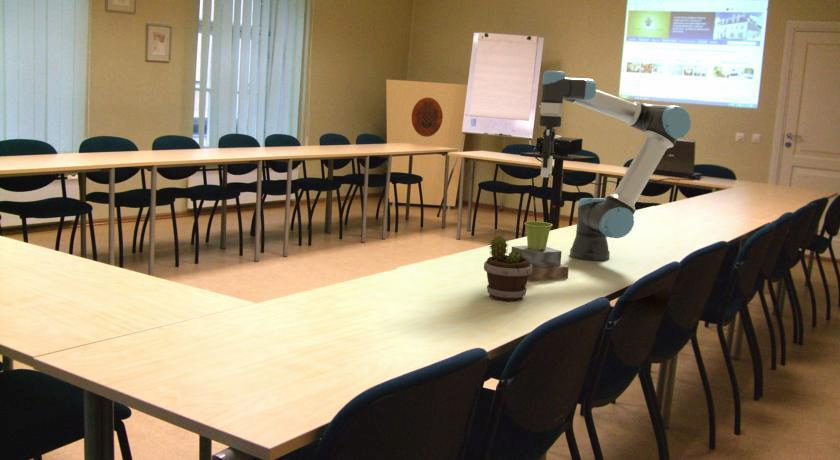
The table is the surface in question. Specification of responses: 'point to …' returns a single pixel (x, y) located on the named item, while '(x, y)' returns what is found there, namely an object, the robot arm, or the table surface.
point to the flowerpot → (506, 272)
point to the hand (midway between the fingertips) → (546, 175)
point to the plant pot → (537, 234)
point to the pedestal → (544, 263)
